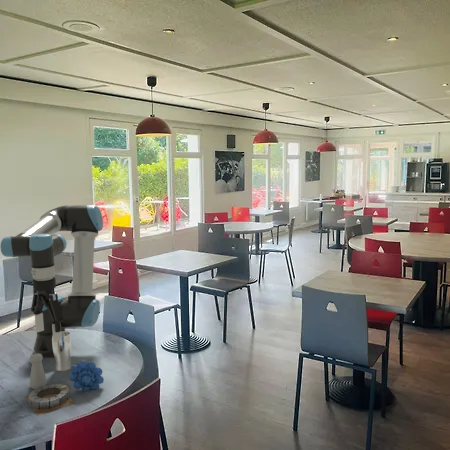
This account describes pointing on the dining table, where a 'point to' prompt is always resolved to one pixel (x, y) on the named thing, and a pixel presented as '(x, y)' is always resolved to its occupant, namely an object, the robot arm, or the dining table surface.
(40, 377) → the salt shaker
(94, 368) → the grapes
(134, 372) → the dining table surface
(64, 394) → the grey segmented ring
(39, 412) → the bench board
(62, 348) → the beer glass
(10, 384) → the dining table surface
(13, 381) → the dining table surface
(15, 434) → the dining table surface
